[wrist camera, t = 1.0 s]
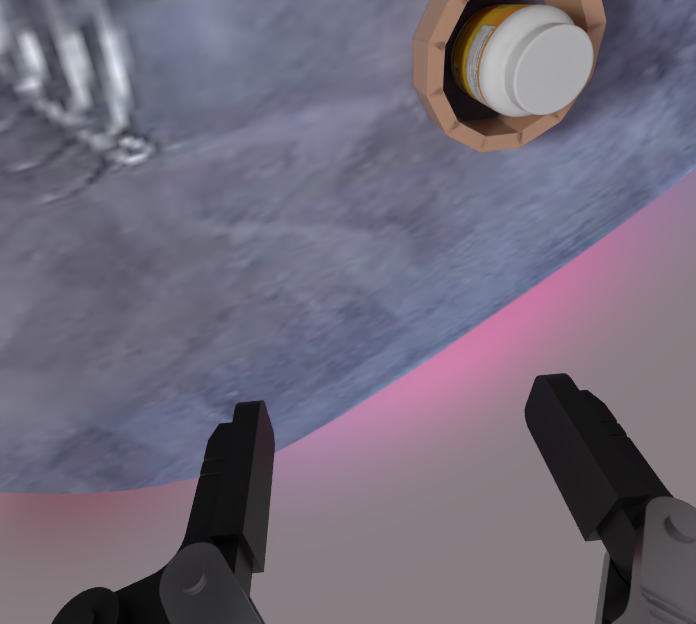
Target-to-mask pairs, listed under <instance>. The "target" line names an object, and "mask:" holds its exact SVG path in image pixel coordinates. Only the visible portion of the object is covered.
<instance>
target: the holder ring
mask: <svg viewBox="0 0 696 624" xmlns="http://www.w3.org/2000/svg"><path fill="white" fill-rule="evenodd" d="M468 1H469V0H430V2H429V4H428V6H427V8H426V11H425V13H424V15H423V17H422V19H421V22H420V24H419V26H418V28H417V30H416V33H415V35H414V37H413V87H414V89H415V90H416V92H417V94H418V96H419V98H420V100H421V102H422V104H423V106H424V107H425V109H426V111H427V113H428V115H429V117H430V119H431V120H432V121H433V122H434V123H435V124H436V125H437V126H438V127H439V128H440V129H441V130H442V131H443V132H444V133H445V134H446V135H447V136H449V137H451V138H453V139H455V140H457V141H459V142H461V143H463V144H465V145H467V146H469V147H471V148H473V149H475V150H477V151H479V152H487V151H496V150H504V149H513V148H521V147H522V146H524V145H525V144H527V143H528V142H530V141H531V140H533V139H535V138H536V137H538V136H539V135H541V134H542V133H544V132H545V131H547V130H548V129H550V128H551V127H553V126H554V125H556V124H557V123H559V122H561V120H562V119H563V117H564V116H565V115H566V113H567V112H568V110H569V109H570V108H571V106H572V105H573V103H574V102H575V101H576V99H577V98H578V96H579V95H580V94H581V92H582V91H583V89H584V88H585V87H586V85H587V84H588V82H589V81H590V80H591V78H592V76H593V73H594V69H595V65H596V61H597V57H598V53H599V49H600V45H601V41H602V37H603V33H604V30H605V26H606V17H605V12H604V8H603V3H602V0H544V1H545V5H550V6H554V7H557V8H559V9H561V10H562V11H564V12H565V13H566V14H567V15H568V16H569V17H570V18H571V19H572V21H573V22H574V25H576V26H578V27H580V28H581V29H583V30H584V31H585V32H586V33H587V34H588V36H589V38H590V40H591V42H592V46H593V54H594V57H593V65H592V70H591V73H590V75H589V78H588V80H587V82H586V84H585V86H584V87H583V89H582V90H581V92H580V93H579V94H578V95H577V96H576V98H575V99H574V100H573V101H571V102H570V103H569V104H568V105H567V106H565V107H564V108H562V109H560V110H559V111H556V112H554V113H551V114H547V115H534V114H532V115H528V116H523V117H510V116H506V115H503V114H500V115H498V116H497V117H495V118H487V119H479V120H470V121H465V120H463V119H461V118H459V117H457V116H455V114H454V112H453V110H452V108H451V106H450V104H449V102H448V100H447V98H446V96H445V94H444V92H443V76H444V56H445V45H446V43H447V41H448V39H449V37H450V35H451V33H452V31H453V29H454V27H455V25H456V23H457V21H458V19H459V17H460V15H461V13H462V11H463V9H464V7H465V5H466V3H467V2H468Z"/></svg>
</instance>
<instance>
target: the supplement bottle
mask: <svg viewBox="0 0 696 624" xmlns="http://www.w3.org/2000/svg"><path fill="white" fill-rule="evenodd" d="M593 57H594V54H593V46H592V42H591V40H590V38H589V36H588V34H587V33H586V32H585V31H584V30H583V29H581V28H580V27H578V26H576V25H574V22H573V21H572V19H571V18H570V17H569V16H568V15H567V14H566V13H565V12H564V11H562V10H561V9H559V8H557V7H554V6H550V5H541V4H498V5H492V6H488V7H485V8H483V9H481V10H479V11H478V12H476V13H475V14H474V15H472V16H471V17H470V18H469V19H468V20H467V21H466V23H465V24H464V25H463V26H462V28H461V30H460V31H459V33H458V35H457V37H456V39H455V42H454V45H453V48H452V53H451V69H452V74H453V77H454V80H455V82H456V83H457V85H458V86H459V88H460V89H461V90H462V91H463V92H465V93H466V94H467V95H469V96H471V97H472V98H474V99H476V100H477V101H479V102H481V103H483V104H484V105H486V106H488V107H489V108H491V109H493V110H494V111H496V112H498V113H501V114H503V115H506V116H510V117H523V116H528V115H532V114H534V115H547V114H551V113H554V112H556V111H559V110H560V109H562V108H564V107H565V106H567V105H568V104H569V103H570V102H571V101H573V100H574V99H575V98H576V96H577V95H578V94H579V93H580V92H581V90H582V89H583V87H584V86H585V84H586V82H587V80H588V78H589V75H590V73H591V70H592V65H593Z"/></svg>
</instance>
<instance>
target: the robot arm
mask: <svg viewBox="0 0 696 624" xmlns="http://www.w3.org/2000/svg"><path fill="white" fill-rule="evenodd" d="M525 419H526V423H527V426H528V428H529V431H530V433H531V434H532V436H533V439H534V441H535V443H536V444H537V446H538V448H539V450H540V452H541V454H542V456H543V458H544V460H545V462H546V464H547V466H548V468H549V470H550V472H551V474H552V476H553V478H554V480H555V482H556V484H557V486H558V488H559V490H560V492H561V494H562V496H563V498H564V500H565V502H566V504H567V506H568V508H569V510H570V512H571V514H572V516H573V518H574V520H575V522H576V524H577V526H578V527H579V530H580V532H581V534H582V536H583V538H584V540H585V541H595V540H602V542H603V544H604V546H605V547H606V549H607V551H606V553H605V556H604V562H603V569H602V576H601V584H600V590H599V597H598V605H597V612H596V619H595V624H696V508H695V507H693V506H692V505H690V504H688V503H686V502H684V501H682V500H679V499H676V498H674V497H673V496H672V495H671V494H670V492H669V491H668V490H667V489H666V488H665V486H664V485H663V483H662V482H661V481H660V479H659V478H658V476H657V475H656V474H655V472H654V471H653V470H652V468H651V467H650V465H649V464H648V463H647V461H646V460H645V458H644V457H643V456H642V454H641V453H640V452H639V450H638V449H637V448H636V446H635V445H634V443H633V442H632V441H631V439H630V438H628V437H627V435H626V432H625V431H624V430H623V428H622V427H621V425H620V424H618V423H617V420H616V419H615V417H614V416H613V414H612V413H611V412H610V410H609V409H608V408H607V406H606V405H605V404H604V403H603V402H602V401H601V400H599V399H598V398H597V397H596V396H594V395H593V394H592V393H590V392H589V391H588V390H581V391H580V390H579V389H578V388H577V386H576V385H575V383H574V382H573V380H572V379H571V378H570V377H569V375H567V374H565V373H561V374H549V375H539V376H537V377H536V378H535V381H534V383H533V386H532V389H531V392H530V395H529V398H528V400H527V403H526V406H525ZM274 451H275V441H274V432H273V428H272V425H271V422H270V418H269V415H268V412H267V409H266V405H265V402H264V401H263V400H262V401H251V402H240V403H237V404H236V407H235V411H234V416H233V421H232V422H231V423H221V424H219V425H218V426H217V428H216V429H215V431H214V432H213V434H212V435H211V437H210V438H209V440H208V443H207V447H206V452H205V456H204V462H203V464H202V468H201V472H200V478H199V481H198V485H197V489H196V493H195V497H194V501H193V505H192V509H191V514H190V518H189V522H188V526H187V530H186V534H185V537H184V540H183V542H182V545H181V547H180V548H179V550H178V552H177V553H176V554H175V556H174V557H173V558H172V559H171V560H170V561H169V563H168V564H166V565H165V566H164V567H163V568H162V569H160V570H159V571H158V572H156V573H154V574H152V575H150V576H148V577H146V578H144V579H142V580H140V581H138V582H135V583H133V584H131V585H129V586H127V587H124V588H122V589H121V590H118V591H116V592H112V591H111V590H110V589H107V588H103V587H95V588H91V589H88V590H86V591H83V592H82V593H80V594H78V595H77V596H75V597H74V598H73V599H71V600H70V601H69V602H68V603H67V604H66V605H65V606H64V607H63V608H62V609H61V610H60V612H59V613H58V614H57V616H56V617H55V618H54V620H53V622H52V624H265V622H264V620H263V618H262V617H261V615H260V613H259V611H258V610H257V608H256V606H255V604H254V603H253V601H252V599H251V597H250V588H251V579H252V573H260V572H264V563H265V553H266V542H267V530H268V519H269V506H270V496H271V485H272V474H273V462H274Z"/></svg>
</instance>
